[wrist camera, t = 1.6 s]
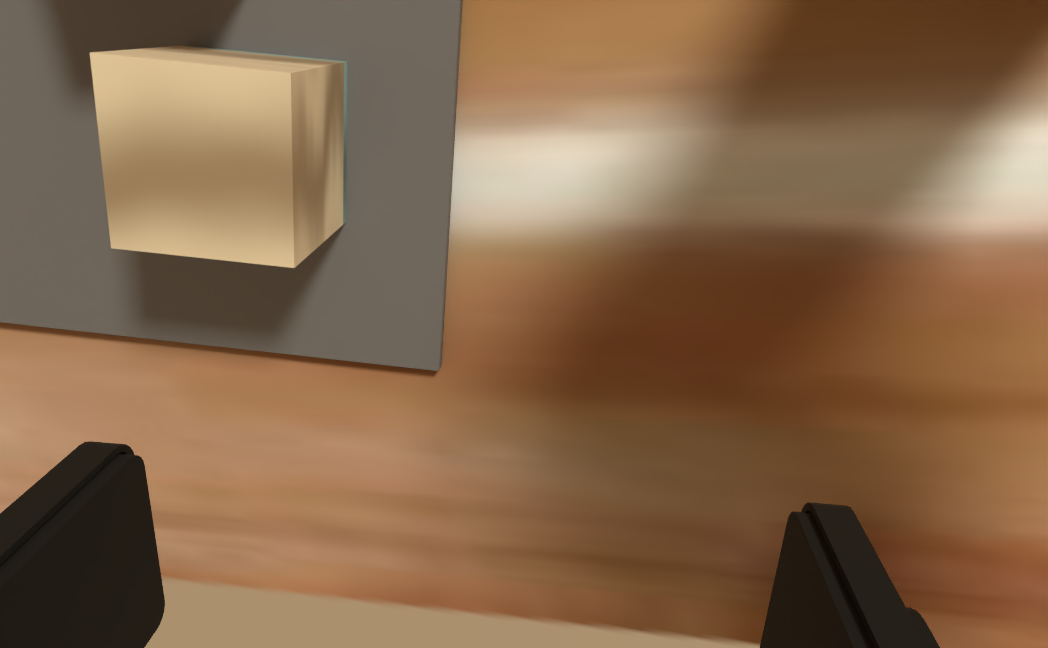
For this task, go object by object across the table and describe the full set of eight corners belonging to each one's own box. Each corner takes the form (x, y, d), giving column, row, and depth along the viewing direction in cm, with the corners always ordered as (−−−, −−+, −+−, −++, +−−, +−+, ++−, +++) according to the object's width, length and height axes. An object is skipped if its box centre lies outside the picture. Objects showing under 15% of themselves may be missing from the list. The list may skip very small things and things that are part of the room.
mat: (-325, -188, 27) (-344, -192, 27) (468, -112, 27) (466, -115, 26) (-195, 294, 34) (-208, 299, 33) (441, 365, 33) (438, 371, 33)
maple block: (184, 45, 28) (89, 52, 23) (346, 61, 28) (290, 72, 23) (195, 206, 31) (111, 248, 25) (345, 222, 31) (294, 267, 25)
